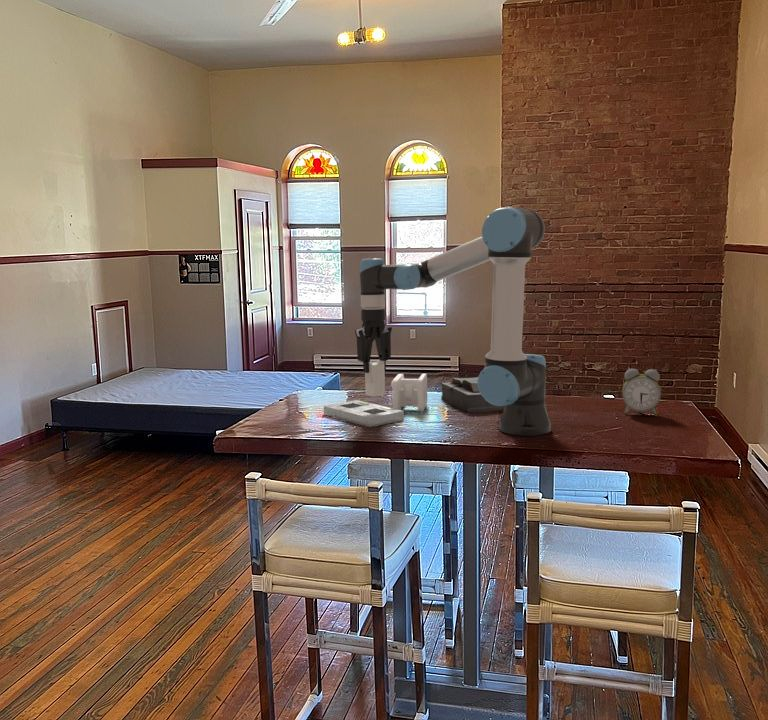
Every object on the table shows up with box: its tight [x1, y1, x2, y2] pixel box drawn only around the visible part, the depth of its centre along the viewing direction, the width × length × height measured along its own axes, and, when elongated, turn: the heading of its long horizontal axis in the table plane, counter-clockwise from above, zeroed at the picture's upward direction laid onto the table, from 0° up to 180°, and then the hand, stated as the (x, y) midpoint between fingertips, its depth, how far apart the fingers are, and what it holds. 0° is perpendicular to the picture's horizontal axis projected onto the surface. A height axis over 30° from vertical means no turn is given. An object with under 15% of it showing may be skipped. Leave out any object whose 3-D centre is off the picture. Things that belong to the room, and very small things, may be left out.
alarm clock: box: [621, 368, 662, 417], centre depth 235 cm, size 12×7×15 cm, turn 72°
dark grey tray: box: [440, 376, 505, 414], centre depth 255 cm, size 23×27×10 cm
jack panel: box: [323, 399, 405, 428], centre depth 238 cm, size 24×14×3 cm, turn 41°
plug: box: [364, 361, 386, 398], centre depth 232 cm, size 6×4×10 cm
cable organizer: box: [390, 373, 428, 413], centre depth 248 cm, size 15×11×12 cm
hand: (375, 381), depth 232 cm, fingers closed on plug, 4 cm apart
